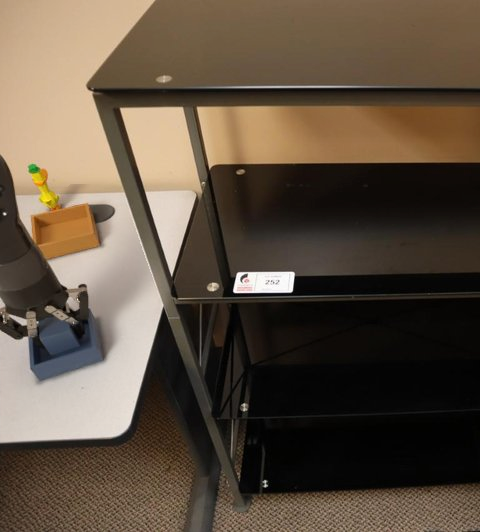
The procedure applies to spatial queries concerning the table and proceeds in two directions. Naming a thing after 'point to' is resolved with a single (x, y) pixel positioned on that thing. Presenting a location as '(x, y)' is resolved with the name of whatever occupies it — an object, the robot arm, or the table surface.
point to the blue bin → (67, 353)
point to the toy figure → (44, 187)
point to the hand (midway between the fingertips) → (63, 339)
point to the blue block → (57, 335)
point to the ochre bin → (64, 230)
